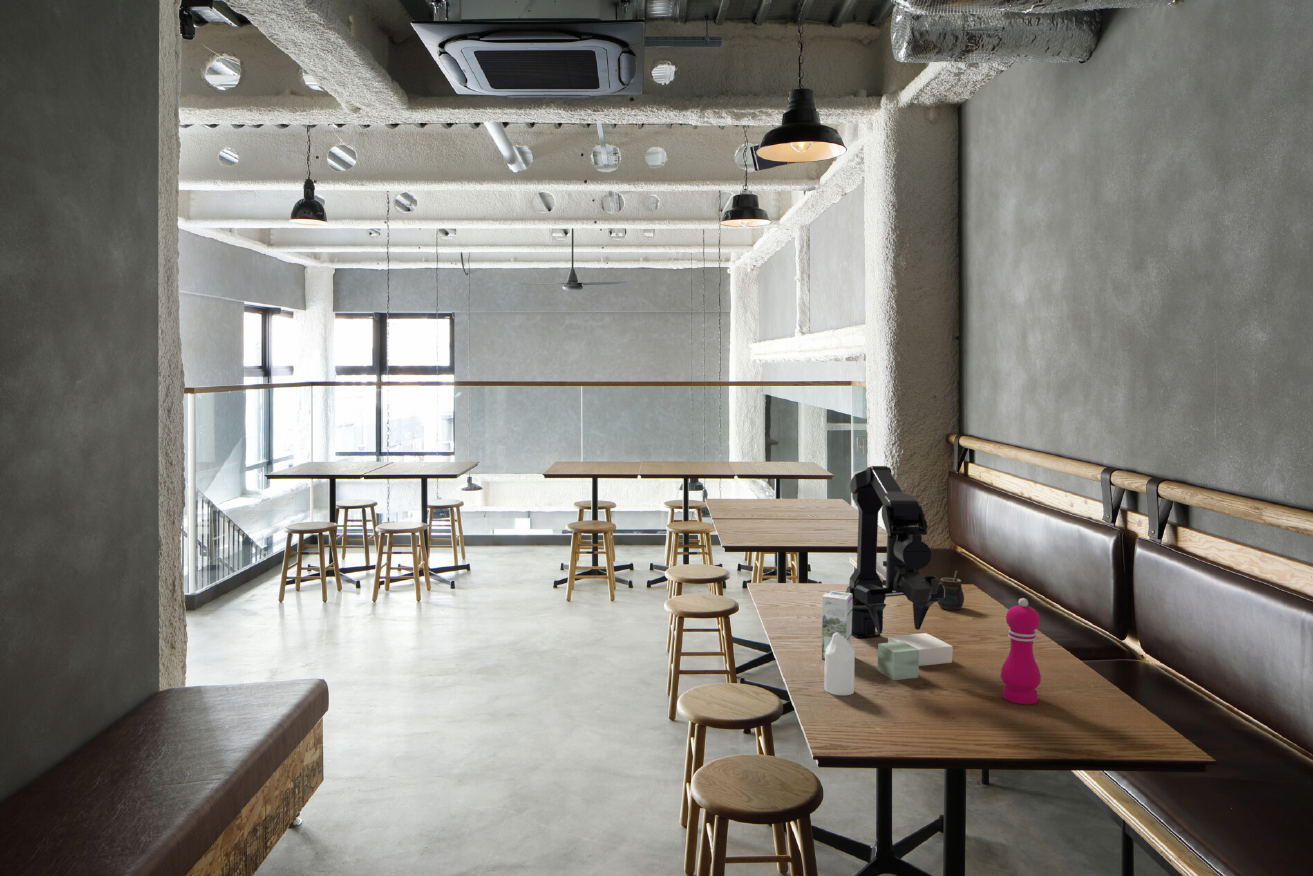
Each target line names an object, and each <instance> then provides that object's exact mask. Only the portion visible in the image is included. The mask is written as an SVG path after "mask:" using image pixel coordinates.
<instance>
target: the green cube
mask: <svg viewBox="0 0 1313 876" xmlns="http://www.w3.org/2000/svg"><path fill="white" fill-rule="evenodd" d="M877 645H878V646H877V672H879V673H880V674H883V676H886V677H887V678H889V679H890V680H892V681H899V680H907V679H908V680H909V679H917V678H919V671H920V669H919V668H920V666H919V649H917V648H915V647H913V646H911V645H909V644H907V643H905V642H903V641H900V642H890V643H888V642H882V643H878V644H877Z"/></svg>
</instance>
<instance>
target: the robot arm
mask: <svg viewBox="0 0 1313 876" xmlns="http://www.w3.org/2000/svg"><path fill="white" fill-rule="evenodd" d="M849 486H850V487H849V489H850V493H851V494H852V496H851V497H852V500H853V501H854V503H855V506H856V507H857V509H858V520H857V521H858V522H857V523H858V524H857V525H858V526H857V527H858V528H857V553H856V554H857V555H856V568H855V570H854V571H853V573H852V574H851V575H850V577H849V582H848V586H847V588H846V590H845V593H852V630H851V636H852V637H855V638H857V639H862V638H872V637H881V634H882V633H883V630H884V629H883V627H884V625H883V624H884V622H883V621H884V609H885V608H886V607H887V604H886V603H885V601H886V598H888V597H900V596H905V597H906V599H907V600H908V601H909V602H910V603H911V602H912V611H913V613H912V614H913V624H914V628H915V630H917V631H919V630H920V629H921V627H922V625H923V622H924V620H925V617H926V615H927V613H928V611H929V609H930V608H931V606H932V605H934V604H935V603H938V601H939V599H938V598H944V597H945V589H944V587H943V585H942V584H941V583H940V578H939V577H937V575H927V576H926V575H923V576H922V575H921V573H920V570H922V569H923V568H926V567H927V566H928V565H929V563H930V561H931V560H932V559H931V558H932V552H931V549H930V547H929V545H927V543H926V542H923V539H922V538H923V536H925V535H926V536H927V535H928V531H927V530H928V523H927V519H926V515H925V512H924V510H923V507H922V505H920V503H919V501H918V500H917V499H916V498H915V497H914V496H913V495H910V494H908V493H905V492H903V490H902V488H901V487H900V485H899V484H898V482H897V480H896V479H895V477H894V476H893V474H892V469H891V467H890V466H887V465H870V466H868V467H866V469H865V470H863V471H859V472H857V473H854V475H853V477H852V478H851V480H850V485H849ZM880 511H881V519H882V522H883V525H884V527H885V531H886V534H887V536H886V538H887V539H886V560H883V561H882V566H883V567H885V569H886V573H885V579H883V580H882V579H881V578H880V576H879V574H878V572H877V561H878V560H877V559H878V558H877V557H878V555H877V553H878V534H879V533H878V531H879V530H878V527H879V512H880ZM884 586H885V587H884Z"/></svg>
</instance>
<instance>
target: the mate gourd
mask: <svg viewBox="0 0 1313 876" xmlns="http://www.w3.org/2000/svg"><path fill="white" fill-rule="evenodd" d="M958 572H959V570H955V572H954V575H953V577H942V578H939V583H941V584H942V585H943V587H944V589H945V597H944V598H938V599H939V601H938V602H937V605H938V606H939V607H940V608H941V609H943V610H947V611H956V610H959V609H961V608H962V607H963V605H964V602H965V594H964V591H963V588H962V580H961V579H960V578H957V575H958Z"/></svg>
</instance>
